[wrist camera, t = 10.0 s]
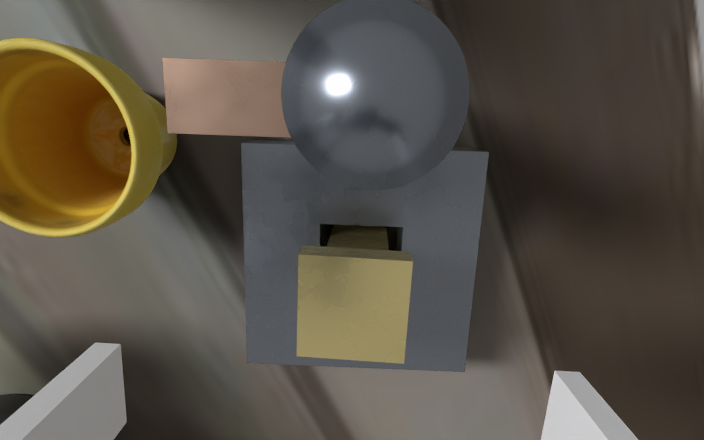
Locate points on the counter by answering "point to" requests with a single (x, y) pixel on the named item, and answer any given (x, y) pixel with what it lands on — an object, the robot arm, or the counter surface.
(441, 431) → the counter surface
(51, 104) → the plant pot
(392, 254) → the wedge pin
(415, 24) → the gray post stand
